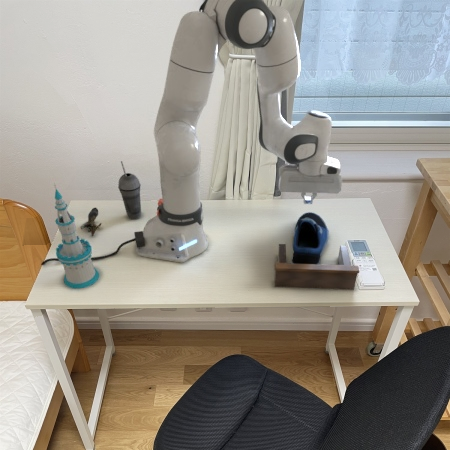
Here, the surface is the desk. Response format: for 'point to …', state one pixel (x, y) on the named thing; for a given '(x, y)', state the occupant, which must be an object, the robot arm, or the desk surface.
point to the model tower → (73, 250)
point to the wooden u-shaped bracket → (316, 273)
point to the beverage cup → (130, 194)
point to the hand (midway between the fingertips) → (307, 203)
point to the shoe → (309, 239)
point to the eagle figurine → (91, 221)
